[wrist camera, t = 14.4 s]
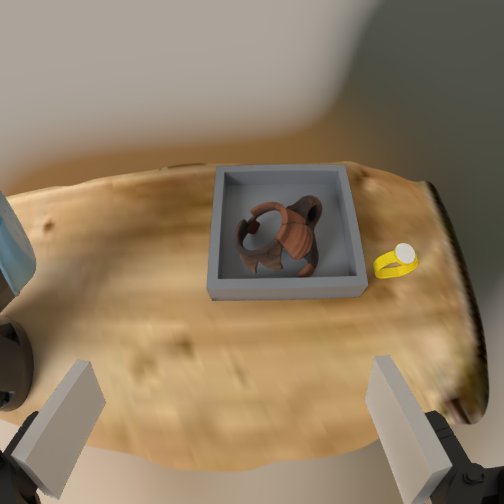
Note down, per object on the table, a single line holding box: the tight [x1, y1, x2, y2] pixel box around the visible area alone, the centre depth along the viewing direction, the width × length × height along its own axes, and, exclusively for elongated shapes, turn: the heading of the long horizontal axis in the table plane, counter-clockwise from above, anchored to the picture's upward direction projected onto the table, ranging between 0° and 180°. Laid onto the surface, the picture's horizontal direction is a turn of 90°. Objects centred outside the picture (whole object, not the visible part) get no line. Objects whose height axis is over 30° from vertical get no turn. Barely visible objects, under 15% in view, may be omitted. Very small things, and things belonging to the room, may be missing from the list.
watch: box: [373, 243, 419, 279], centre depth 37 cm, size 6×3×6 cm, turn 94°
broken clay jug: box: [234, 195, 322, 278], centre depth 38 cm, size 12×9×8 cm
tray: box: [207, 164, 368, 301], centre depth 41 cm, size 18×18×4 cm
